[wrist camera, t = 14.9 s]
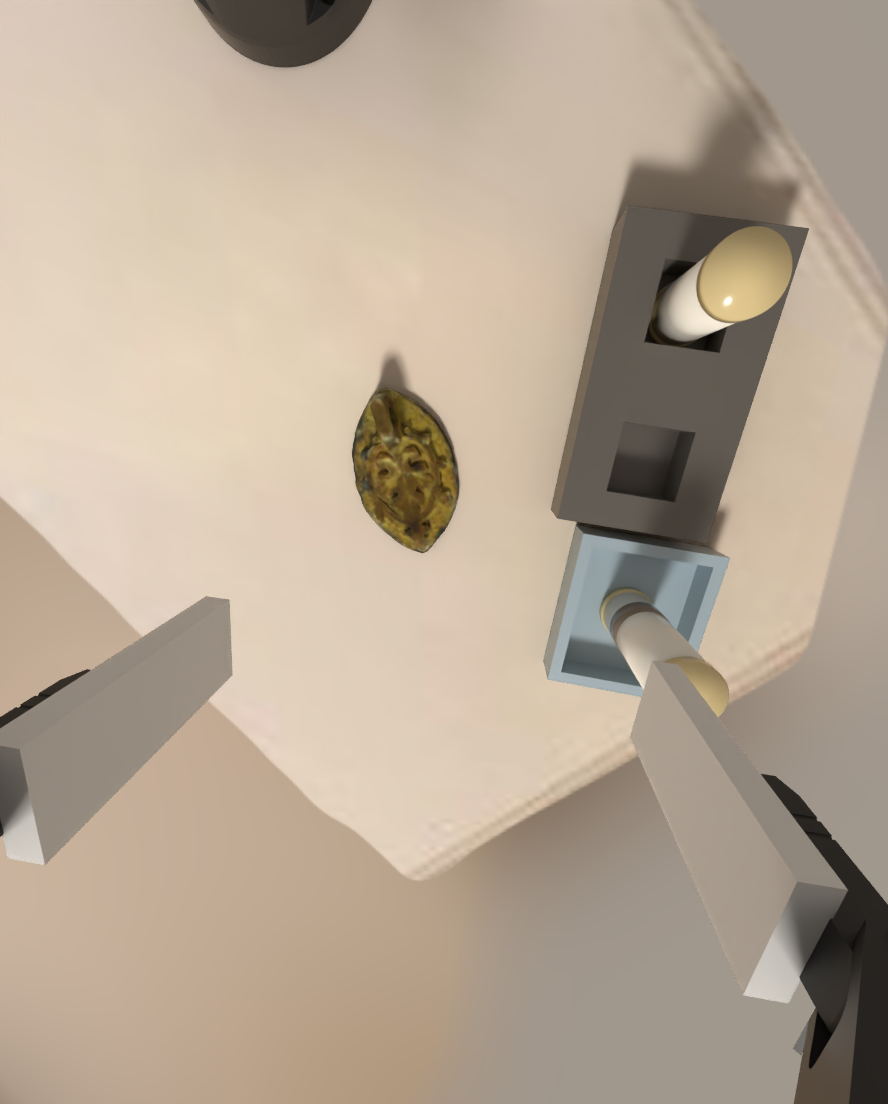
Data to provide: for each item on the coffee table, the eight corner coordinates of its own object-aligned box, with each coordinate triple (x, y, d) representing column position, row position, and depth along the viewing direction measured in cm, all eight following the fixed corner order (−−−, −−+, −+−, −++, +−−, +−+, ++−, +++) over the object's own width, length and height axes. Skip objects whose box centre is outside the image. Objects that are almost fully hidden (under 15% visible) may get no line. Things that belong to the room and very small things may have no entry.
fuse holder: (612, 230, 34) (628, 205, 30) (772, 251, 34) (809, 228, 30) (550, 509, 40) (557, 518, 37) (685, 532, 40) (706, 543, 36)
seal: (475, 534, 43) (429, 375, 40) (479, 545, 39) (429, 366, 35) (383, 561, 44) (330, 406, 40) (377, 575, 39) (316, 402, 36)
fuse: (654, 279, 34) (718, 221, 24) (715, 287, 34) (805, 232, 24) (638, 344, 35) (693, 313, 26) (697, 352, 35) (775, 324, 26)
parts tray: (575, 525, 41) (583, 533, 37) (710, 547, 40) (730, 558, 37) (543, 661, 44) (547, 679, 41) (665, 683, 44) (679, 704, 41)
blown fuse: (606, 583, 41) (662, 657, 27) (657, 592, 41) (739, 671, 27) (594, 628, 42) (642, 721, 29) (643, 637, 42) (715, 735, 28)
